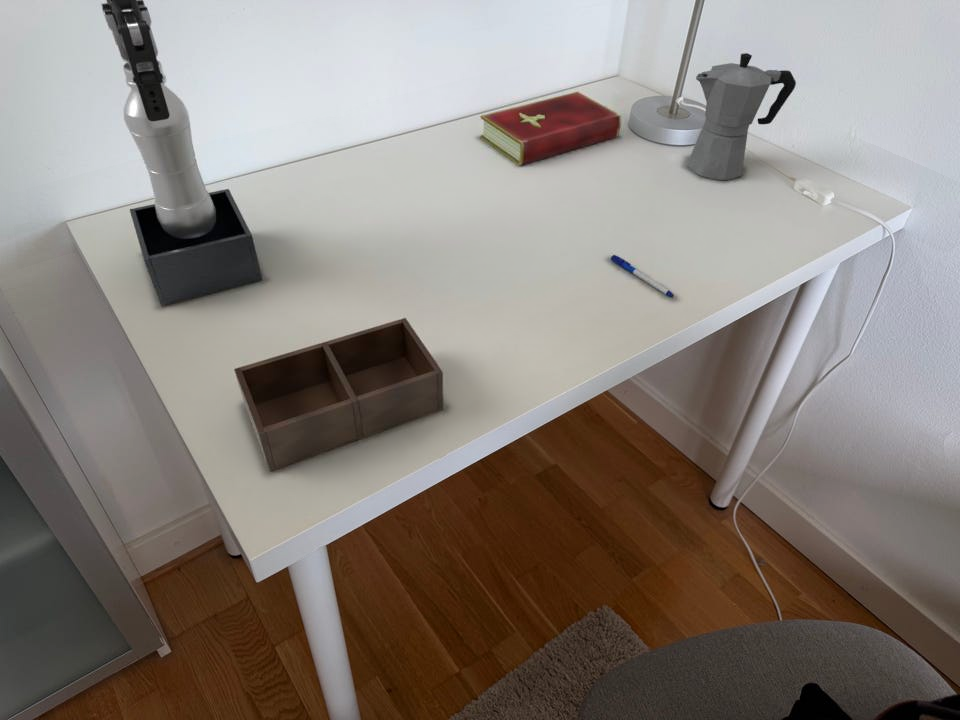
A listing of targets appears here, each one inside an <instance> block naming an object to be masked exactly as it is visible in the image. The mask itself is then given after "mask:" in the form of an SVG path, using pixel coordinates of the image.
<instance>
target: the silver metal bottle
mask: <svg viewBox="0 0 960 720" xmlns="http://www.w3.org/2000/svg"><path fill="white" fill-rule="evenodd" d="M157 62H158V66H159V69H160V73H162V75H163V79H162V80H163V83H161V86H162V90H163V93H164V97H165V100H166V104H167V107H168V111H169V114H170V116H169V118H168V119H165V120H159V121H150V120H148V118H147V116H146V113H145V110H144V106H143V103H142V100H141V97H140V94H139V90H138V87H137V86H136V84H135V83H134V82H133V79H132V77H133V74H132V71H131V68H130V65H129V63H128V62H125V63H124V64H123V66H122V67H123V72H124V76H125V82H126V86H128V87H129V88H130V92H129V93H128V96H127V98H126V101H125V103H124V107H123V120H124V123H125V125H126V128H127V129H128V131H129V133H130V135H131V137H132V139H133V142H134V143H135V146H136V147H137V149H138V151H139V153H140V156H141V158H142V160H143V164H144V165H145V168H146V170H147V173H148V176H149V181H150V185H151V189H152V192H153V197H154V204H155V208H156V214H157V218H158V220H159V222H160V224H161V226H162V228H163V229H164V230H165V231H166V232H167V233H169V234H170V235H172V236H174V237H176V238H183V239H189V238H195V237H199V236H202V235H205V234H207V233H208V232H210V231H211V230H212V229H213V227H214V225H215V222H216V209H215V206H214V204H213V201H212V199H211V197H210V195H209V193H210V192H209V191H208V190H207V188H206V185H205V182H204V179H203V178H202V174H201V172H200V169H199V166H198V162H197V159H196V153H195V149H194V144H193V136H192V129H191V121H190V115H189V110H188V108H187V107H186V104H185V103H184V102H183V100H182V99H181V98H179V96H178V95H177V94H176V93H175V92H174V91H172V90H171V89H170V88H169V87H168V86H166V83H167V77H166V75H165V73H164V69H163V65H162V63H161V61H160V60H158V59H157ZM136 67H137V70H138V72H143V71H150V70H152V67H151V63H150V62H141V63H137V65H136Z"/></svg>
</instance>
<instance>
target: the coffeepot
mask: <svg viewBox="0 0 960 720" xmlns="http://www.w3.org/2000/svg"><path fill="white" fill-rule="evenodd" d="M752 57H753V55H752V54H750V53H747V52H746V53H745V52H744V53H740V60H739V63H733V62H728V63H723V64H717V65H712V66H711V69H710V70H707V71H706V70H705V71H701V72H700V73H698V74H697V75H696V76H695V80H696V81H698V82H699V84H700V86H701V89H702V92H703V96H704V98H705V102H706V104H705V113H704V117H705V119H704V123H703V125H702V128H701V130H700V132H699V134H698V136H697V139H696V142H695V144H694V146H693V149H691V153H690V155H689V158H688V161H687V164H686V166H687V167H688V169H689V170H690V171H691V172H693V174H695V175H697V176H700V177H702V178H704V179H709V180H714V181H731V180H735V179H737V178H738V177H741V176H742V174H743V167H744V160H745V154H746V147H747V141H748V134H749V128H750V125H753V122H754V120H755V118H756V116H757V114H758V111H759V109H760V107H761V106H762V103H763V101H764V99H765V96H766V95H767V92H768V91H769V88H770V87H771V86H772V85H774V86H775V85H779V84H783V87H782V88H781V89H780V91H779V92H778V94H777V96H776V99H775V100H774V102H773V103H772V104H771V106H770V107H769V110H768V112H767V114H766V116H765V117H758V118H757V124H758V125H770V124H771V123H772V122H773V121H774V119H775V118H776V116H777V115H778V113H779V111H780V110H781V109H782V108H783V106H784V104H785V103H786V102H787V100H788V98H789V97H790V95H791V94H792V93H793V92H794V90H795V88H796V84H797V81H796V79H795V77H794V76H793V74H792V72H791V71H790V70H787V69H785V70H784V69H783V70H778V69H767V70H763V69H761V68H759V67H758V66H754V65H749V63H750V62H751V59H752Z"/></svg>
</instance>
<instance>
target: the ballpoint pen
mask: <svg viewBox="0 0 960 720" xmlns="http://www.w3.org/2000/svg"><path fill="white" fill-rule="evenodd" d="M610 259H611V261H613V263H615V264H616V265H618V266H620V267H621V268H623V269H624V270H626V271H628V272H629V273H631V274H632V275H634V276H636V277H638V278H639V279H641V280H643V281H644V282H645V283H647V284H648V285H650V286H652V287H653V288H655V289H657V290H658V291H660V292H661V293H663V294H664V295H666V296H668V297H671V298H673V297H674V295H675V294H674V293H673V292H671V290H670V289H668V288H666V287H665V286H663V285H661V284H659V283H658V282H657V281H655V280H653V279H652V278H650V277H649V276H647V275H646V274H644V273H643V272H641V271H639V270H638V269H636V268H635V267H634V266H633V265H632V264H631V263H629V262H628V261H627V260H625V258H624V259H623V257H620V256H618V255H616V254H613V255H611V257H610Z"/></svg>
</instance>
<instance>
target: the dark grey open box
mask: <svg viewBox="0 0 960 720" xmlns="http://www.w3.org/2000/svg"><path fill="white" fill-rule="evenodd" d="M208 193H209V195H210V197H211V199H212V201H213V204H214V206H215V209H216V222H215V225H214V227H213V229H212V230H211V231H210V232H208V233H207V234H205V235H202V236H199V237H195V238H189V239H183V238H176V237H174V236H172V235H170V234H169V233H167V232H166V231H165V230H164V229H163V228H162V226H161V224H160V222H159V220H158V218H157V214H156V208H155V203H154V204H147V205H143V206H139V207H134V208H129V213H130V217H131V221H132V223H133V226H134V231H135V235H136V237H137V241H138V244H139V248H140V251H141V255H142V258H143V262H144V264H145V267H146V269H147V271H148V274H149V277H150V280H151V283H152V286H153V288H154V292H155V294H156V296H157V299H158V302H159V304H160V307H165V306H169V305H173V304H177V303H181V302H184V301H189V300H193V299H197V298H200V297H204V296H208V295H212V294H215V293H216V294H217V293H220V292H223V291H224V292H225V291H227V290H232V289H235V288H240V287H243V286H246V285H251V284H254V283H258V282H262V281H263V276H262V272H261V267H260V263H259V260H258V255H257V250H256V246H255V242H254V238H253V234H252V232H251V230H250V228H249V226H248V224H247V222H246V220H245V218H244V216H243V214H242V212H241V210H240V208H239V206H238V205H237V202H236V200H235V199H234V196H233V195H232V193H231V190H230V188H226V189H221V190H216V191H211V192H208Z"/></svg>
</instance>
